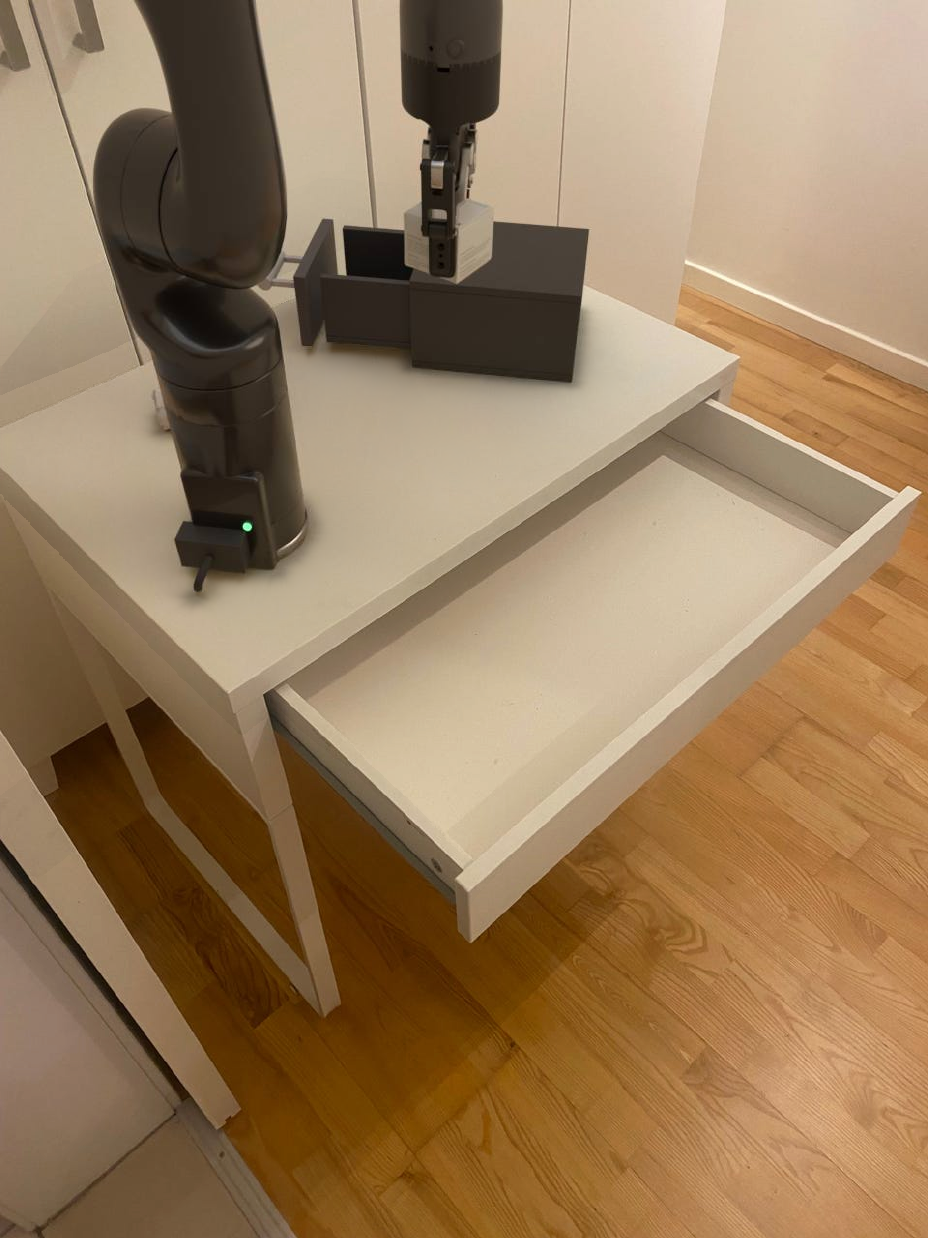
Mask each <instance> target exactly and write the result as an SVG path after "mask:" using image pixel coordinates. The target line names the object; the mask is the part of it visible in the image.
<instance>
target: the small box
mask: <svg viewBox="0 0 928 1238" xmlns="http://www.w3.org/2000/svg"><path fill="white" fill-rule="evenodd" d="M494 209H495V207H494V206H493V205H490V204H487V203H484V202H480V201H477V200H474V199H471V198H469V199H468V198H466V202H465V204H464V205H462V206H460V208H459V216H458V225H459V231H457V251H456V272H455V275H454V277H452V278H443V277H440V278H442V279H445V280H448V281H450V282H453V283H455V284H458V283H459V282H461V281H462V280H464V279H465V278H466V277H468V276H469V275H471V274H472V273H473V272H475V271H476V270H477V269H479V268H480V267H482V266H483V265H484V264H486V263H487V262H488V261H490V259H491V258H492V239H493V221H494V217H495V216H494V214H495V213H494V211H495V210H494ZM434 218H439V219H447V213H446V211H444V210H437V209H435V215H434ZM421 225H422V202H421V201H420V202H419V203H417V204H415V205H414V206H412V207H410V208H409V209H407V210H406V211H404V212H403V230H404V236H405V265H406V266H409V267H412V268H415V269H418V270H421V271H423V272H426V273H429V237H423V236H422V232H421ZM429 274H430V273H429Z"/></svg>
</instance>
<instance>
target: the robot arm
mask: <svg viewBox="0 0 928 1238" xmlns="http://www.w3.org/2000/svg"><path fill="white" fill-rule="evenodd" d="M133 2H134V4H135V6H136V8H137V10H138V11H139V13H140V16H141V17H142V19H143V22H144V24H145V26H146V29H147V31H148V34H149V35H150V37H151V40H152V43H153V46H154V49H155V51H156V54H157V56H158V60H159V63H160V67H161V71H162V74H163V77H164V82H165V86H166V91H167V97H168V100H169V105H170V110H171V111H169V110H164V109H160V108H153V107H138V108H134V109H131V110H128V111H126V112H124V113H121V114H120V115H119V116H117V117H116V118H115V119H113V120H112V121H111V123H109V125H108V126H107V128H106V129H105V131H104V132H103V134H102V136H101V138H100V140H99V142H98V145H97V148H96V151H95V155H94V160H93V167H92V196H93V203H94V209H95V214H96V219H97V224H98V227H99V231H100V235H101V238H102V242H103V245H104V247H105V251H106V254H107V257H108V260H109V263H110V266H111V269H112V272H113V275H114V278H115V281H116V284H117V287H118V290H119V294H120V297H121V299H122V303H123V305H124V308H125V311H126V315H127V317H128V320H129V322H130V324H131V326H132V329H133V330H134V332H135V333H136V335H137V337H138V338H139V340H140V341H141V342H142V343H143V344H144V345H145V347H146V348H147V349H148V351H149V353H150V356H151V359H152V363H153V366H154V371H155V374H156V378H157V382H158V386H159V388H160V390H161V394H162V398H163V402H164V406H165V410H166V414H167V418H168V422H169V425H170V429H169V430H170V433H171V436H172V437H171V438H172V440H173V444H174V449H175V452H176V457H177V460H178V464H179V467H180V473H179V477H180V480H181V484H182V489H183V493H184V496H185V500H186V504H187V508H188V511H189V515H190V519H191V521H189V520H183V521H182V523H181V524H180V526H179V528H178V531H177V532H176V535H175V536H174V539H173V541H174V544H175V545H174V546H175V548H176V551H177V552H176V553H177V555H178V559H179V562H180V566H181V567H186V568H194V569H198V570H197V573H196V575H195V578H194V581H193V591H194V592H196V593H201V592H202V591H203V585H204V582H205V579H206V577H207V574H208V572H209V571H210V570H212V571H221V572H229V573H238V574H246V573H247V569H248V567H250V568H258V569H259V568H260V569H267V570H268V569H269V570H273V569H275V567H276V565H277V563H278V561H279V560H280V559H282V558H284V557H286V556H288V555H289V554H291V553H292V552H293V551H295V550H296V549H297V548H298V547H299V546H300V545H301V544H302V542H303V541H304V540H305V538H306V536H307V533H308V530H309V517H308V512H307V511H308V510H307V507H306V505H305V498H304V492H303V485H302V477H301V471H300V465H299V458H298V450H297V444H296V437H295V429H294V423H293V416H292V415H293V414H292V408H291V403H290V401H291V400H290V396H289V389H288V380H287V372H286V366H285V365H286V364H285V358H284V352H283V351H284V350H283V344H282V335H281V330H280V325H279V321H278V317H277V315H276V313H275V311H274V310H273V308H272V307H271V306H270V304H269V303H268V302H267V301H266V300H265V299H264V298H263V297H262V296H261V295H260V294H258V292H256V291H254V289H253V287H255V286H258V285H257V284H259V283H261V282H262V281H263V280H264V279H265V278H266V277H267V276H268V275H269V274H270V272H271V271H272V270H273V268H274V267H275V265H276V263H277V260H278V258H279V256H280V253H281V251H283V246H284V243H285V238H286V232H287V224H288V188H287V186H288V185H287V177H286V169H285V163H284V156H283V151H282V144H281V139H280V133H279V128H278V123H277V118H276V113H275V106H274V102H273V101H274V100H273V96H272V91H271V86H270V79H269V74H268V73H269V72H268V69H267V68H268V67H267V63H266V58H265V57H266V56H265V52H264V46H263V40H262V35H261V28H260V27H261V26H260V22H259V21H260V20H259V13H258V7H257V1H256V0H133ZM503 2H504V1H503V0H399V45H400V46H399V47H400V72H401V73H400V80H401V82H400V83H401V86H400V87H401V105H402V107H403V109H404V111H405V112H406V113H407V114H408V115H409V116H410V117H412V118H413V119H416V120H420V121H422V122H424V123H425V124H426V125H428V127H427V136H426V137H427V138H423V139H422V144H421V145H422V146H421V163H420V164H419V171H420V193H421V195H420V196H421V198H420V199H421V201H420V202H422V225H421V232H422V236H423V237H429V273H430V274H431V275H432V276H434V277H443V278H452V277H454V275H455V272H456V251H457V231H459V225H458V216H459V208H460V206H462V205H464V204H465V202H466V198H468V199H470V195H471V194H470V189H472V185H473V184H474V177H473V174H475V173H476V168H477V147H478V142H479V141H478V140H479V132H478V129H477V124H478V123H480V122H483V121H485V120H487V119H489V118H491V117H492V116H494V114H495V113H496V112H497V110H498V108H499V105H500V93H501V69H502V45H503V44H502V41H503V23H504V3H503ZM435 209H437V210H444V211H446V213H447V219H439V218H434V215H435Z"/></svg>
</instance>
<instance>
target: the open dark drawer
mask: <svg viewBox="0 0 928 1238" xmlns="http://www.w3.org/2000/svg"><path fill="white" fill-rule="evenodd" d="M342 238H343V251H344V252H343V253H344V261H345V274H344V275H343V274H339V269H338V259H337V258H338V257H337V247H336V234H335V223H334V219H333V218H322V219H321V221H320V223H319V224H318V227H317V229H316V230H315V232H314V234H313V235H312V239H311V240H310V242H309V244H308V246H307V248H306V250H305V252H304V254H303V255H292V254H290V255H289V254H286V253H285V251H283V250H282V251H281V253H280V256H279V258H278V260H277V263H276V265H275V267H274V268H273V270H272V271H271V272H270V274H269V275H268V276H267V277H266V278H265V279H264V280H263V281H262V282H261V283H259V284H257V285H256V286H257V287H258V288H259V289H260V290H261V291H265V292H267V291H270V290H271V289H272V287H277V288H287V289H294V296H295V304H296V311H297V313H296V314H297V319H298V328H299V329H298V330H299V336H300V345H301V347H307V348H313V347H314V345H315V343H316V341H317V339H318V336H319V334H320V332H321V329H322V327H323V324H324V331H325V341H326V343H332V344H343V345H353V346H363V347H374V348H385V349H396V350H406V351H411V329H410V293H409V289H410V288H409V281H410V278H411V275H412V272H413V269H414V268H412V267H409V266H406V265H405V236H404V229H396V228H395V229H393V228H384V227H383V228H381V227H372V226H371V227H369V226H358V225H343V227H342ZM285 263H287V264H288V263H289V264H298V266H297V268H296V270H295V272H294V273H293V276H292V279H287V278H284V279H283V278H277V277H278V276H279V273H280V272H281V269H282V267H283V266H284V264H285Z"/></svg>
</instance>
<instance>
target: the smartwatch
mask: <svg viewBox="0 0 928 1238" xmlns="http://www.w3.org/2000/svg"><path fill="white" fill-rule="evenodd" d="M151 399H152V400H153V404H154V407H155V411H156V412H157V420H158V423H159V425H160V426H161V427H162V429H163V430H167V431H168V430H171V429H170V425H169V422H168V418H167V414H166V410H165V406H164V402H163V398H162V394H161V390H160V387H155V388H154V389H153V390H152V392H151Z"/></svg>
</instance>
